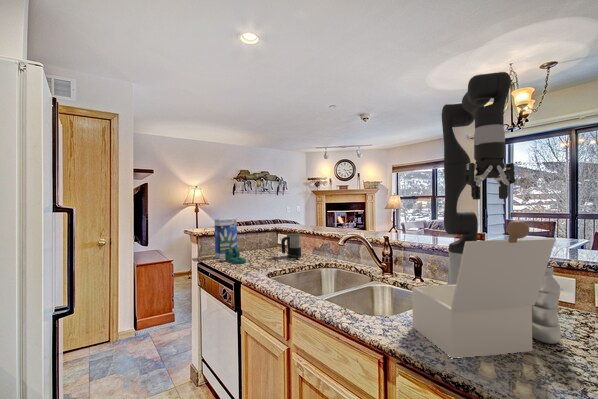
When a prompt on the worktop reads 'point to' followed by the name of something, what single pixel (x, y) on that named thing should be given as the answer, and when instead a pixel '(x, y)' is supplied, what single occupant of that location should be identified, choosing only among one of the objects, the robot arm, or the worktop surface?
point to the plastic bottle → (547, 310)
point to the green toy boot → (234, 256)
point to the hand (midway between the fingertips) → (489, 199)
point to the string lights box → (225, 236)
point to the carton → (470, 325)
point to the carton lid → (502, 271)
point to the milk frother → (292, 245)
